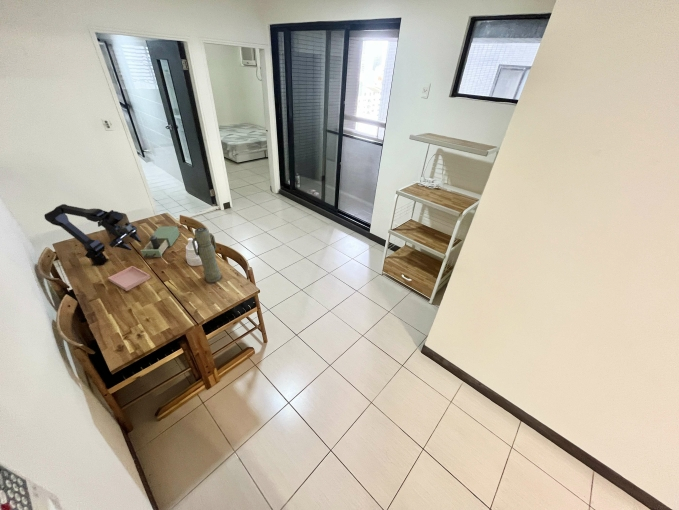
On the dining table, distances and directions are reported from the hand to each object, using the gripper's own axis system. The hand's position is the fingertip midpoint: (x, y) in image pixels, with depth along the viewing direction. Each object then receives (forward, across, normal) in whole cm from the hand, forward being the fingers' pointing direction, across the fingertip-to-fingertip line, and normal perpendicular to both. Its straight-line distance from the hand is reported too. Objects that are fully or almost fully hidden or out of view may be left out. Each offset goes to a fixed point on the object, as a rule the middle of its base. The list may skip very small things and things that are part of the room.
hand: (136, 246), depth 169 cm
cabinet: (+10, +31, +11) cm, 34 cm away
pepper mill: (+10, +16, +8) cm, 21 cm away
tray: (+12, -15, +8) cm, 21 cm away
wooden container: (-8, +29, +35) cm, 46 cm away
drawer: (+11, +14, +8) cm, 20 cm away
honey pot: (+31, +8, -16) cm, 35 cm away
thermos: (+41, -10, -30) cm, 52 cm away
